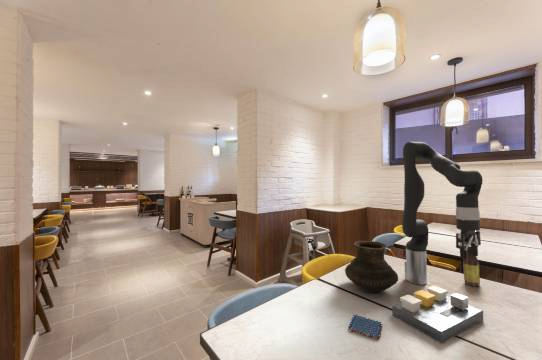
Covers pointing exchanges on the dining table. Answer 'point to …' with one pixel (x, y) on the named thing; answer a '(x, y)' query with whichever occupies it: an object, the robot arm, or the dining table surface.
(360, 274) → the ceramic pot
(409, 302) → the button left
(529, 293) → the dining table surface
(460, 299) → the brushed metal cube
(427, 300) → the button mid
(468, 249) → the sauce bottle
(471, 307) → the panel
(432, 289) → the button right
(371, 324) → the woven mat
